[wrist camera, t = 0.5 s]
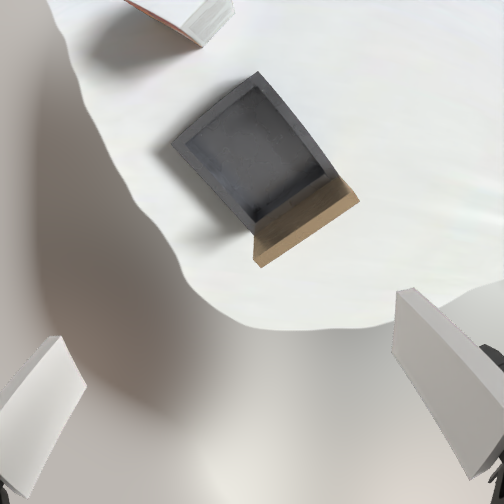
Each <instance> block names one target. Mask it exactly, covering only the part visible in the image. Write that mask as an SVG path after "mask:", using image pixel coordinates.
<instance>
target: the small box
mask: <svg viewBox="0 0 504 504" xmlns="http://www.w3.org/2000/svg"><path fill="white" fill-rule="evenodd" d="M124 1H126V2H128V3H129V4H131V5H133V6H134V7H136V8H137V9H139V10H141V11H142V12H144V13H145V14H147V15H149V16H150V17H152V18H154V19H156V20H158V21H160V22H162V23H163V24H165V25H167V26H168V27H170V28H172V29H173V30H175V31H177V32H178V33H180V34H182V35H183V36H185V37H186V38H188V39H190V40H191V41H193V42H194V43H196V44H197V45H199V46H200V47H204V46H205V45H206V44H207V43H208V42H209V41H210V40H211V38H212V37H213V36H214V35H215V34H216V33H217V32H218V31H219V30H220V29H221V28H222V27H223V26H224V25H225V23H226V22H227V21H228V20H229V19H230V18H231V17H232V16H233V15H234V14H235V9H234V5H233V1H232V0H124Z"/></svg>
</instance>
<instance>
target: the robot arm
mask: <svg viewBox="0 0 504 504" xmlns="http://www.w3.org/2000/svg"><path fill="white" fill-rule="evenodd" d="M391 353H392V354H393V356H394V357H395V358H396V360H397V362H398V363H399V365H400V366H401V368H402V369H403V371H404V372H405V374H406V375H407V377H408V378H409V380H410V381H411V383H412V384H413V386H414V388H415V389H416V391H417V392H418V394H419V395H420V397H421V398H422V400H423V402H424V403H425V405H426V407H427V408H428V410H429V411H430V413H431V415H432V416H433V418H434V420H435V421H436V423H437V424H438V426H439V428H440V429H441V431H442V433H443V434H444V436H445V438H446V440H447V441H448V443H449V445H450V446H451V448H452V450H453V452H454V453H455V455H456V457H457V459H458V460H459V462H460V464H461V466H462V468H463V469H464V471H465V473H466V475H467V477H468V479H469V480H471V479H473V478H475V477H477V476H478V475H480V474H482V473H483V472H485V471H486V470H488V469H490V467H491V466H492V465H493V464H494V462H495V461H496V460H497V458H498V457H499V458H500V460H501V461H502V464H501V465H500V466H499V467H498V468H497V470H496V471H495V472H494V473H493V474H492V476H491V477H490V479H489V481H488V483H491V482H492V481H493V480H494V479H495V478H496V477H497V480H496V482H495V483H496V485H495V489H494V493H493V497H492V501H491V504H504V356H503V355H502V354H501V353H500V352H499V351H497V350H496V349H494V348H492V347H490V346H488V345H486V344H484V345H482V346H479V347H478V346H477V345H476V344H475V343H474V342H473V341H472V340H471V339H470V338H469V337H468V336H467V335H466V334H465V333H464V332H463V331H462V330H460V329H459V328H458V327H457V326H456V325H455V324H454V323H453V322H452V321H451V320H450V319H449V318H448V317H447V316H445V315H444V314H443V313H442V312H441V311H440V310H439V309H438V308H437V307H436V306H434V305H433V304H432V303H431V302H430V301H429V300H428V299H427V298H425V297H424V296H423V295H422V294H421V293H420V292H419V291H417V290H416V289H415V288H410V289H406V290H402V291H397V292H396V307H395V320H394V332H393V342H392V351H391ZM86 388H87V385H86V384H85V382H84V380H83V378H82V376H81V375H80V372H79V371H78V369H77V367H76V365H75V363H74V361H73V359H72V357H71V355H70V353H69V351H68V349H67V347H66V345H65V343H64V341H63V339H62V336H49V337H48V338H47V339H46V340H45V341H44V342H43V343H42V344H41V345H40V347H39V348H38V349H37V350H36V351H35V352H34V353H33V354H32V356H31V357H30V358H29V359H28V360H27V361H26V362H25V364H24V365H23V366H22V367H21V368H20V369H19V370H18V372H17V373H16V374H15V375H14V377H13V378H12V379H11V380H10V381H9V382H8V384H7V385H6V386H5V387H4V389H3V390H2V391H1V392H0V504H10V503H9V498H8V494H7V491H6V490H5V489H4V488H3V485H4V484H5V485H6V486H8V487H9V488H10V489H11V490H12V491H13V492H14V493H16V494H18V495H20V496H22V497H24V498H26V499H29V497H30V494H31V492H32V490H33V488H34V486H35V483H36V481H37V479H38V477H39V475H40V473H41V471H42V469H43V467H44V465H45V463H46V460H47V459H48V457H49V455H50V453H51V451H52V449H53V447H54V445H55V443H56V441H57V439H58V437H59V436H60V434H61V432H62V430H63V428H64V426H65V425H66V423H67V421H68V419H69V417H70V416H71V414H72V412H73V410H74V408H75V407H76V405H77V403H78V401H79V400H80V398H81V396H82V394H83V393H84V390H85V389H86Z"/></svg>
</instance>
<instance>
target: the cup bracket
mask: <svg viewBox="0 0 504 504" xmlns="http://www.w3.org/2000/svg"><path fill="white" fill-rule="evenodd" d="M171 145H172V146H173V147H174V148H175V149H176V150H177V151H178V152H179V153H180V155H181V156H182V157H183V158H184V159H185V160H186V161H187V162H188V163H189V164H190V165H191V167H192V168H193V169H194V170H195V171H196V172H197V173H198V174H199V175H200V176H201V177H202V179H203V180H204V181H205V182H206V183H207V184H208V185H209V186H210V187H211V188H212V189H213V191H214V192H215V193H216V194H217V195H218V196H219V197H220V198H221V199H222V201H223V202H224V203H225V204H226V205H227V206H228V207H229V208H230V209H231V210H232V212H233V213H234V214H235V215H236V216H237V217H238V218H239V219H240V220H241V222H242V223H243V224H244V225H245V226H246V227H247V228H248V229H249V230H250V231H251V233H252V234H253V235H254V249H253V260H254V261H255V262H256V263H257V264H258V265H259V266H260V268H262V267H264V266H265V265H267V264H268V263H270V262H271V261H273V260H274V259H276V258H277V257H279V256H280V255H282V254H283V253H285V252H286V251H288V250H289V249H291V248H292V247H294V246H295V245H297V244H298V243H300V242H301V241H303V240H304V239H306V238H307V237H309V236H310V235H312V234H313V233H315V232H316V231H317V230H319V229H320V228H322V227H323V226H325V225H326V224H328V223H329V222H331V221H332V220H334V219H335V218H337V217H338V216H339V215H341V214H342V213H344V212H345V211H347V210H348V209H350V208H351V207H353V206H354V205H355V204H357V203H358V202H360V201H359V199H358V198H357V196H356V194H355V193H354V191H353V190H352V189H351V188H350V187H349V186H348V184H347V183H346V182H345V181H344V180H343V179H342V178H341V177H340V176H339V174H338V173H337V171H336V170H335V169H334V167H333V166H332V164H331V163H330V161H329V160H328V159H327V157H326V156H325V154H324V153H323V152H322V150H321V149H320V148H319V146H318V145H317V143H316V142H315V141H314V139H313V138H312V137H311V135H310V134H309V133H308V131H307V130H306V129H305V127H304V126H303V125H302V124H301V122H300V121H299V120H298V118H297V117H296V116H295V115H294V113H293V112H292V111H291V110H290V108H289V107H288V106H287V105H286V103H285V102H284V101H283V100H282V99H281V97H280V96H279V95H278V94H277V93H276V91H275V90H274V89H273V88H272V87H271V85H270V84H269V83H268V82H267V81H266V80H265V79H264V77H263V76H262V75H261V74H260V73H259V72H256V73H255V74H253V75H252V76H251V77H249V78H248V79H247V80H245V81H244V82H243V83H241V84H240V85H239V86H238V87H236V88H235V89H234V90H232V91H231V92H230V93H229V94H227V95H226V96H225V97H224V98H222V99H221V100H220V101H219V102H218V103H216V104H215V105H214V106H213V107H212V108H210V109H209V110H208V111H207V112H206V113H204V114H203V115H202V116H201V117H200V118H199V119H198V120H196V121H195V122H194V123H193V124H192V125H191V126H190V127H188V128H187V129H186V130H185V131H184V132H183V133H182V134H181V135H180V136H179V137H177V138H176V139H175V140H174V141H173V142H172V143H171Z"/></svg>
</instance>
